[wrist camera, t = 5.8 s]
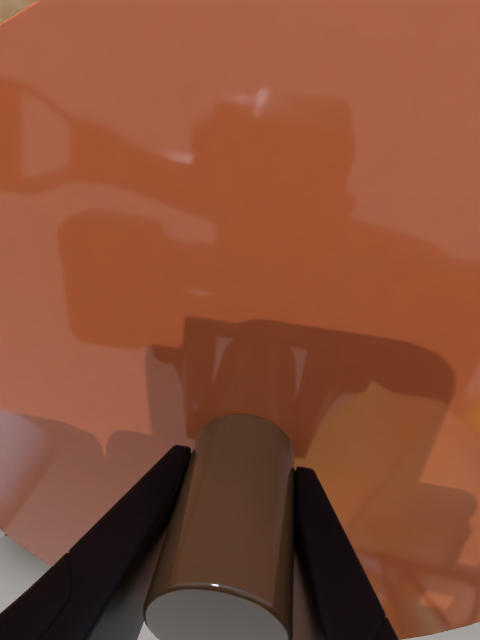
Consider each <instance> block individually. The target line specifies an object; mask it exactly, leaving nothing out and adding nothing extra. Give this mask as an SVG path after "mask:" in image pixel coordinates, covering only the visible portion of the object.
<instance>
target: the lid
mask: <svg viewBox="0 0 480 640" xmlns="http://www.w3.org/2000/svg"><path fill="white" fill-rule="evenodd" d="M174 445H183V446H189V447H190V448H191V456H190V459H189V463H188V466H187V469H186V472H185V475H184V478H183V482H182V485H181V488H180V491H179V494H178V497H177V500H176V504H175V507H174V510H173V513H172V516H171V519H170V523H169V526H168V529H167V532H166V535H165V538H164V541H163V545H162V548H161V551H160V554H159V557H158V560H157V564H156V567H155V570H154V573H153V576H152V579H151V583H150V586H149V589H148V592H147V595H146V598H145V601H144V605H143V617H144V621H145V623H146V625H147V627H148V628H149V630H150V631H151V632H152V633H153V635H155V636H156V637H157V638H158V639H159V640H293V609H294V512H295V470H296V468H297V467H298V466H301V467H307V468H311V469H313V470H314V471H315V473H316V475H317V477H318V479H319V481H320V483H321V485H322V487H323V489H324V491H325V493H326V495H327V497H328V499H329V501H330V503H331V505H332V507H333V509H334V511H335V513H336V515H337V517H338V519H339V521H340V523H341V525H342V527H343V529H344V531H345V533H346V535H347V537H348V539H349V541H350V543H351V545H352V547H353V549H354V551H355V553H356V555H357V557H358V559H359V561H360V563H361V565H362V567H363V569H364V571H365V573H366V575H367V577H368V579H369V581H370V583H371V585H372V587H373V589H374V591H375V593H376V595H377V597H378V599H379V601H380V603H381V605H382V607H383V609H384V611H385V613H386V615H385V617H387V618H388V619H389V621H390V623H391V625H392V627H393V629H394V631H395V633H396V635H397V637H398V639H399V640H401V639H407V638H413V637H420V636H426V635H431V634H435V633H439V632H443V631H448V630H452V629H456V628H460V627H464V626H468V625H471V624H474V623H477V622H480V0H38V1H36V2H34V3H33V4H31V5H29V6H28V7H26V8H25V9H23V10H21V11H20V12H18V13H16V14H15V15H13V16H11V17H10V18H8V19H7V20H5V21H3V22H2V23H0V529H1V530H2V531H3V532H4V533H5V534H7V535H8V536H9V537H11V538H12V539H13V540H15V541H16V542H18V543H19V544H20V545H21V546H23V547H24V548H25V549H27V550H28V551H29V552H31V553H32V554H33V555H35V556H36V557H38V558H40V559H41V560H43V561H44V562H46V563H47V564H49V565H50V566H53V565H54V564H55V563H56V562H57V561H58V560H59V559H60V558H61V557H62V556H63V555H64V554H65V553H69V550H70V548H71V547H72V546H73V545H74V544H75V543H76V542H77V541H78V540H79V539H80V538H81V537H82V536H83V535H84V534H86V533H87V532H88V531H89V530H90V529H91V528H92V527H93V526H94V525H95V524H96V523H97V522H98V521H99V520H100V519H101V518H102V517H103V516H104V515H105V514H106V513H107V512H108V511H109V510H110V509H111V508H112V507H113V506H114V505H115V504H116V503H117V502H118V501H119V500H120V499H121V498H122V497H123V496H124V495H125V494H126V493H127V492H128V491H129V490H130V489H131V488H132V487H133V486H134V485H135V484H136V483H137V482H138V481H139V480H140V479H141V478H142V477H143V476H144V475H145V474H146V473H147V472H148V471H149V470H150V469H151V468H152V467H153V466H154V465H155V464H156V463H157V462H158V461H159V460H160V459H161V458H162V457H163V456H164V455H165V454H166V453H167V452H168V451H169V450H170V449H171V448H172V447H173V446H174Z"/></svg>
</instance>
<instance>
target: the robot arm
mask: <svg viewBox="0 0 480 640" xmlns="http://www.w3.org/2000/svg"><path fill="white" fill-rule="evenodd" d="M190 456H191V448H190V447H189V446H183V445H174V446H173V447H172V448H171V449H170V450H169V451H168V452H167V453H166V454H165V455H164V456H163V457H162V458H161V459H160V460H159V461H158V462H157V463H156V464H155V465H154V466H153V467H152V468H151V469H150V470H149V471H148V472H147V473H146V474H145V475H144V476H143V477H142V478H141V479H140V480H139V481H138V482H137V483H136V484H135V485H134V486H133V487H132V488H131V489H130V490H129V491H128V492H127V493H126V494H125V495H124V496H123V497H122V498H121V499H120V500H119V501H118V502H117V503H116V504H115V505H114V506H113V507H112V508H111V509H110V510H109V511H108V512H107V513H106V514H105V515H104V516H103V517H102V518H101V519H100V520H99V521H98V522H97V523H96V524H95V525H94V526H93V527H92V528H91V529H90V530H89V531H88V532H87V533H86V534H84V535H83V536H82V537H81V538H80V539H79V540H78V541H77V542H76V543H75V544H74V545H73V546H72V547H71V548H70V550H69V553H65V554H64V555H63V556H62V557H61V558H60V559H59V560H58V561H57V562H56V563H55V564H54V565H53V566H52V567H51V568H50V569H49V570H48V571H47V572H46V573H45V574H44V575H43V576H42V577H41V578H40V579H39V580H38V581H36V582H35V583H34V584H33V585H32V586H31V587H30V588H29V589H28V590H27V591H26V592H24V593H23V594H22V595H21V596H20V597H19V598H18V599H16V601H14V602H13V603H12V604H11V605H10V606H8V607H7V608H6V609H5V610H4V611H3V612H1V613H0V640H137V638H138V636H139V633H140V630H141V627H142V625H143V622H144V617H143V605H144V601H145V598H146V595H147V592H148V589H149V586H150V583H151V579H152V576H153V573H154V570H155V567H156V564H157V560H158V557H159V554H160V551H161V548H162V545H163V541H164V538H165V535H166V532H167V529H168V526H169V523H170V519H171V516H172V513H173V510H174V507H175V504H176V500H177V497H178V494H179V491H180V488H181V485H182V482H183V478H184V475H185V472H186V469H187V466H188V463H189V459H190ZM385 615H386V613H385V611H384V609H383V607H382V605H381V603H380V601H379V599H378V597H377V595H376V593H375V591H374V589H373V587H372V585H371V583H370V581H369V579H368V577H367V575H366V573H365V571H364V569H363V567H362V565H361V563H360V561H359V559H358V557H357V555H356V553H355V551H354V549H353V547H352V545H351V543H350V541H349V539H348V537H347V535H346V533H345V531H344V529H343V527H342V525H341V523H340V521H339V519H338V517H337V515H336V513H335V511H334V509H333V507H332V505H331V503H330V501H329V499H328V497H327V495H326V493H325V491H324V489H323V487H322V485H321V483H320V481H319V479H318V477H317V475H316V473H315V471H314V470H313V469H311V468H307V467H301V466H298V467H297V468H296V470H295V512H294V609H293V640H399V639H398V637H397V635H396V633H395V631H394V629H393V627H392V625H391V623H390V621H389V619H388V618H387V617H385Z"/></svg>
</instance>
